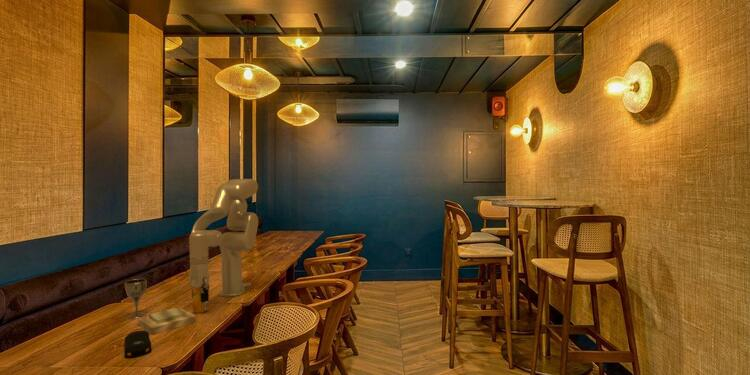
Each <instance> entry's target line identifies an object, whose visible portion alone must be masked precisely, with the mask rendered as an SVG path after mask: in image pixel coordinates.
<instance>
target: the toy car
mask: <svg viewBox="0 0 750 375" xmlns="http://www.w3.org/2000/svg"><path fill="white" fill-rule="evenodd" d="M123 349H124V358H134V357H140V356H143V355H146V354H149V353H150V352H151V351H152V342H151V339H150V333H149V332H147V331H146V330H143V329H141V328H136V329H134V330H132V331H131V332H130V333H128V334H127V335H126V336H125V337H124V348H123Z"/></svg>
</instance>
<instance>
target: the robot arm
mask: <svg viewBox="0 0 750 375" xmlns="http://www.w3.org/2000/svg"><path fill="white" fill-rule="evenodd" d="M258 189H259V184H258V182H257V180H256V179H254V178H235V179H229V180H227V181H226V182H225V183H222V184H220V185H219V186H218V187H217V191H216V193H215V195H214V198H213V201H212V202H211V205H210V208H209V209H208V210H207V211H206V212H204V213H203V214H201V216H200V217H199V218H198V219H197V220H196V221H195V222H194V224H193V226H192V230H191V232H190V235H189V237H188V238H189V239H188V240H189V281H188V282H189V283H188V284H189V285H190V286H191V287H190V288H191V298H192V299H193V290H192V281H193V280H194V287H196V288H200V289H201V292H202V293H201V302H206V301H208V302H209V300H210V298H209V296H210V295H209V292H210V287H211V284H210V272H209V266H208V264H209V262H210V260H209V248H211V247H218V246H219V250H220V255H221V281H222V282H221V283H222V285H221V286H222V287H221V289H222V290H220V291H219V292H218V294H219V296H220V297H226V298H229V297H236V296H240V295H243V294H244V293H246V287H251V286H252V283H251V282H243V270H242V269H243V267H242V264H243V263H242V261H243V260H242V256H241V253H240V252H239V251H241V252H246V251H247V252H249V251H250V250H252V249H253V247H255V243H256V238H257V232H258V227H259V217H258V216H257V214H256V213H255V212H251V211H250V212H249V211H247V209H248V202H247V201H246V199H248V198H251V197H252V196H254V195H255V194H256V193H257V192H258ZM225 217H227V219H226V227H227V228H228V230H231V231H226V232H224V233H222V232H221V231H219V230H214V229H211V230H210V229H209V230H208V229H207V227H209V226H210V225H211V224H212V223H214V222H217V221H219V220H221V219H223V218H225ZM202 285H204V286H202ZM203 288H204V290H203Z"/></svg>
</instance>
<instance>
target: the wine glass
mask: <svg viewBox="0 0 750 375" xmlns="http://www.w3.org/2000/svg"><path fill="white" fill-rule="evenodd" d="M147 284H148V282H147V278H133V279H129V280H127V281H125V282H124V289H125V293H126V295H127V297H128V298H130V299H131V300H132V301H133V303H134V306H135V307H134V308H135V312H133V313H131V314H129V315H127V316H126V318H127V319H137V318H142V317H145V316H146V315H147V313H146V312H145V311H144V312H143V311H142V312H139V311H138V310H139V309H138V307H139V302H140V300H141V299H142V298H143V296H144V295H145V293H146V291H147Z"/></svg>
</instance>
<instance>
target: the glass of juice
mask: <svg viewBox="0 0 750 375" xmlns="http://www.w3.org/2000/svg"><path fill="white" fill-rule="evenodd" d="M202 286H204V285H202ZM191 287H192V288H191V291H192V290H193V298H192V311H193V312H194V313H195V314H202V313H205V312H207V311H208V310H209V301H206V302H201V293H202V292H201V289H200V288H196V287H194V280H193V281H192V286H191ZM203 290H204V288H203Z"/></svg>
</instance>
